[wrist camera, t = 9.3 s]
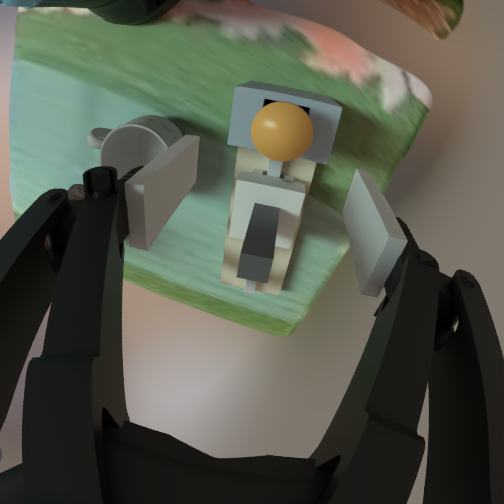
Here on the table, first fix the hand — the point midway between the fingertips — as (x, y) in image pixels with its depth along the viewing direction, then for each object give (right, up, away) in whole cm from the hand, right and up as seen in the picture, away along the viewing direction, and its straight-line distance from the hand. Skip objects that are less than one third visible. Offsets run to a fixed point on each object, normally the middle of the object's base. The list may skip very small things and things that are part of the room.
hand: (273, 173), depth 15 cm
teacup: (-16, +12, +23) cm, 31 cm away
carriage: (+1, +3, +24) cm, 24 cm away
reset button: (+2, +10, +13) cm, 17 cm away
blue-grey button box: (+3, +14, +19) cm, 23 cm away
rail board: (+1, 0, +29) cm, 29 cm away
